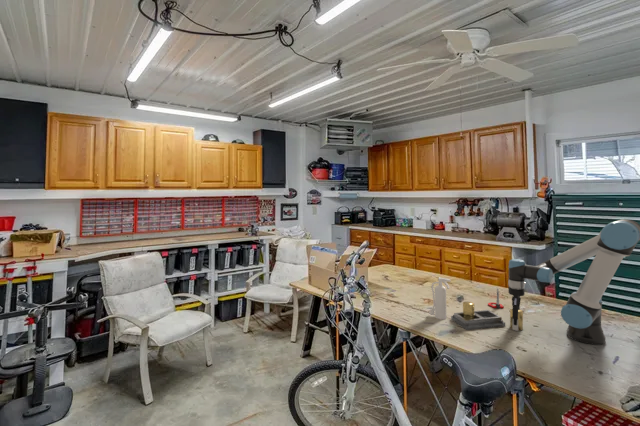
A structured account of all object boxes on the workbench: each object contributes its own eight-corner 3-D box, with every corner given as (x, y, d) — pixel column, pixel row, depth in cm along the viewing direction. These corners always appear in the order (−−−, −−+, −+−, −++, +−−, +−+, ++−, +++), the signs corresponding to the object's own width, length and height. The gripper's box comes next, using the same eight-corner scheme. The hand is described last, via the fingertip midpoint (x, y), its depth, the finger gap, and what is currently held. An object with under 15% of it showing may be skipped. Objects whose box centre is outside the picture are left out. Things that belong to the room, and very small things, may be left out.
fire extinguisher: (429, 313, 196) (430, 275, 193) (449, 316, 190) (451, 277, 188) (427, 317, 190) (428, 278, 187) (448, 321, 184) (450, 280, 182)
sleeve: (525, 329, 169) (525, 312, 168) (515, 330, 168) (515, 313, 167) (517, 325, 175) (517, 308, 174) (507, 326, 174) (507, 309, 173)
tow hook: (486, 303, 210) (491, 308, 201) (485, 285, 210) (491, 288, 201) (499, 304, 209) (505, 308, 199) (499, 285, 208) (505, 289, 199)
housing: (505, 326, 174) (505, 305, 174) (466, 330, 171) (466, 309, 170) (487, 315, 189) (487, 296, 188) (451, 319, 186) (451, 299, 185)
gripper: (523, 293, 160) (522, 336, 161) (525, 283, 176) (525, 322, 177) (506, 291, 164) (506, 332, 166) (510, 281, 180) (510, 319, 182)
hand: (515, 327), depth 172 cm, fingers open, 7 cm apart
